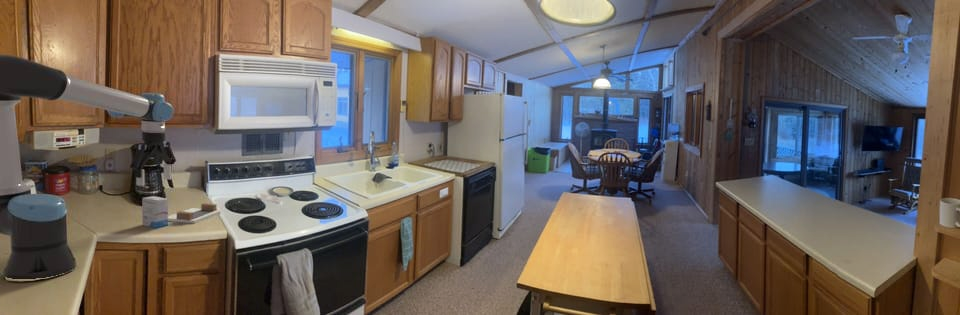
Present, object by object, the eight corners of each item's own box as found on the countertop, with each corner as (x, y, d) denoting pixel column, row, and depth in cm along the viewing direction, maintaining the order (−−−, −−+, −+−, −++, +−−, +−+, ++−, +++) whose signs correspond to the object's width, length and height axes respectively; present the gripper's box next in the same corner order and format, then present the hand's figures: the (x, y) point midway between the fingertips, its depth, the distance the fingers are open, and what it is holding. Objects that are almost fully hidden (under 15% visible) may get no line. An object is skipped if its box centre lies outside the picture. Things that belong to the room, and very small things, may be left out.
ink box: (169, 225, 175) (168, 198, 174) (157, 228, 170) (156, 200, 169) (154, 222, 177) (153, 195, 176) (141, 225, 173) (141, 197, 171)
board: (194, 223, 180) (194, 214, 179) (163, 220, 180) (163, 211, 180) (220, 213, 197) (220, 204, 196) (192, 210, 197) (192, 201, 197)
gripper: (136, 134, 156) (137, 189, 159) (185, 130, 181) (185, 177, 184) (116, 132, 156) (118, 187, 159) (168, 128, 181) (169, 176, 184)
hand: (154, 182), depth 172 cm, fingers open, 13 cm apart
